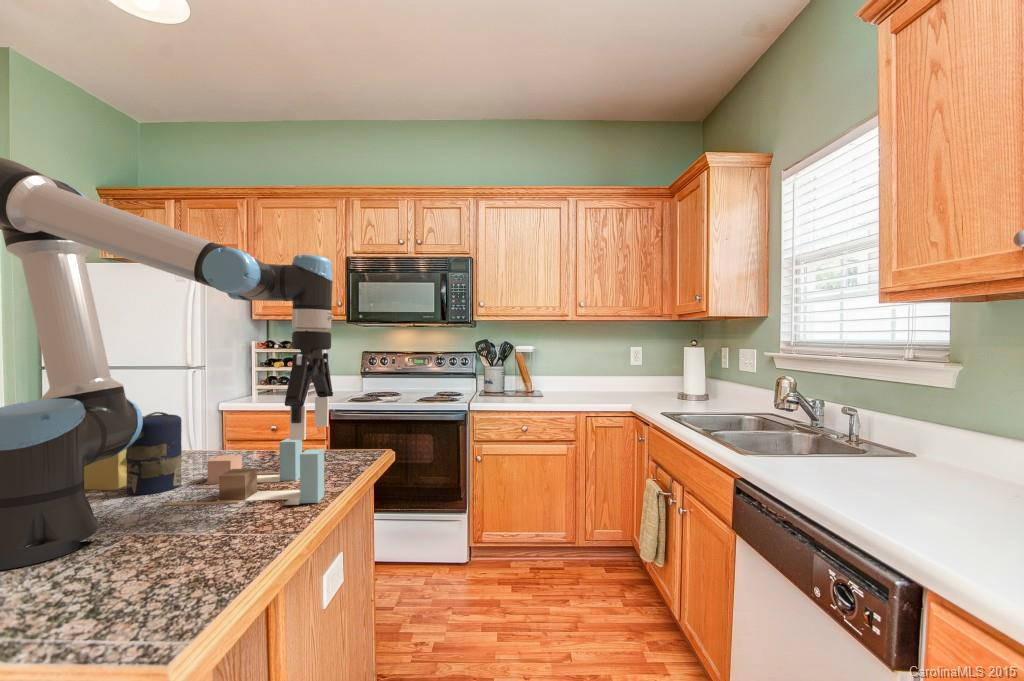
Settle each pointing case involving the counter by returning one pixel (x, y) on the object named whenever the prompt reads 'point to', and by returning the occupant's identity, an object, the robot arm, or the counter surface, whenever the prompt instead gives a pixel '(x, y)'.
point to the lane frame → (215, 501)
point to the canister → (155, 456)
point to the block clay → (222, 466)
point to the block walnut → (237, 484)
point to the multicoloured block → (301, 482)
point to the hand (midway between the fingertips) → (310, 432)
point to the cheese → (107, 473)
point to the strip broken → (285, 462)
